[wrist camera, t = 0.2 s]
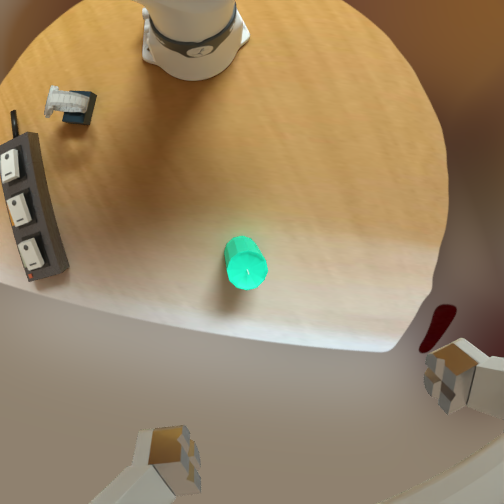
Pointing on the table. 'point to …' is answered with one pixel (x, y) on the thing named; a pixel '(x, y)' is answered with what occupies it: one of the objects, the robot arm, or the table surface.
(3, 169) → the plate
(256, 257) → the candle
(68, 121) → the watch
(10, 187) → the strip
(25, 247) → the rocker
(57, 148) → the table surface
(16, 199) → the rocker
